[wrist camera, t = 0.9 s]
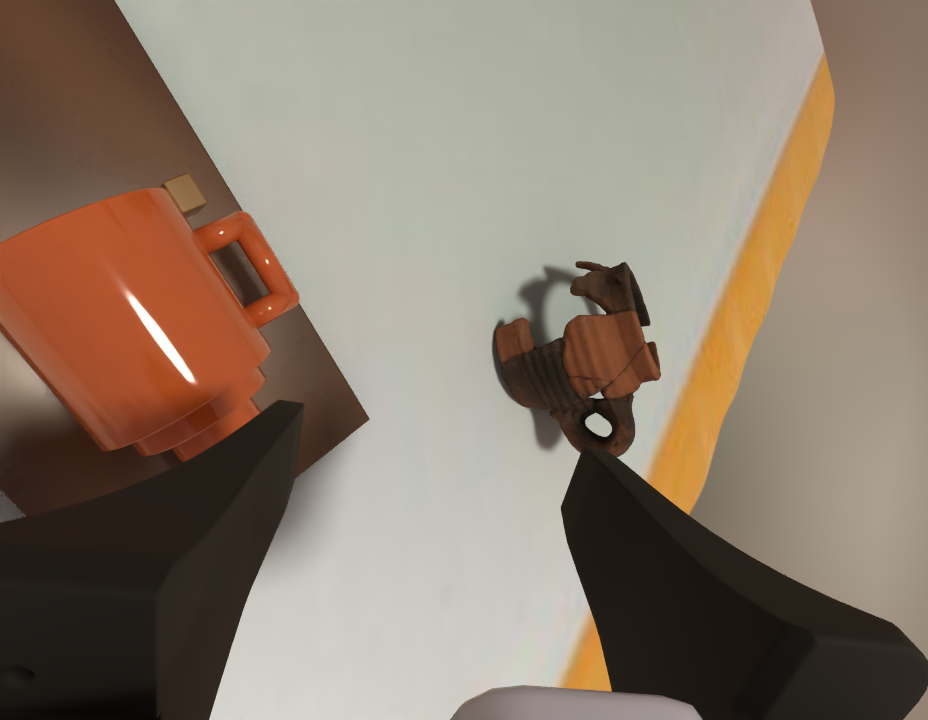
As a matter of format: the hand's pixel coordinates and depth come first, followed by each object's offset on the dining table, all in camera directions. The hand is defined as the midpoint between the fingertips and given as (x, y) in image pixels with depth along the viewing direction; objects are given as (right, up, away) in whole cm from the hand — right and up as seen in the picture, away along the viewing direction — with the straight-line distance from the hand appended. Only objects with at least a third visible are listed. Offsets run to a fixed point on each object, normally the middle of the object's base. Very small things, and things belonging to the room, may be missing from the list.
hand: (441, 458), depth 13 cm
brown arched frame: (+6, +3, +21) cm, 22 cm away
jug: (-11, +7, +3) cm, 13 cm away
